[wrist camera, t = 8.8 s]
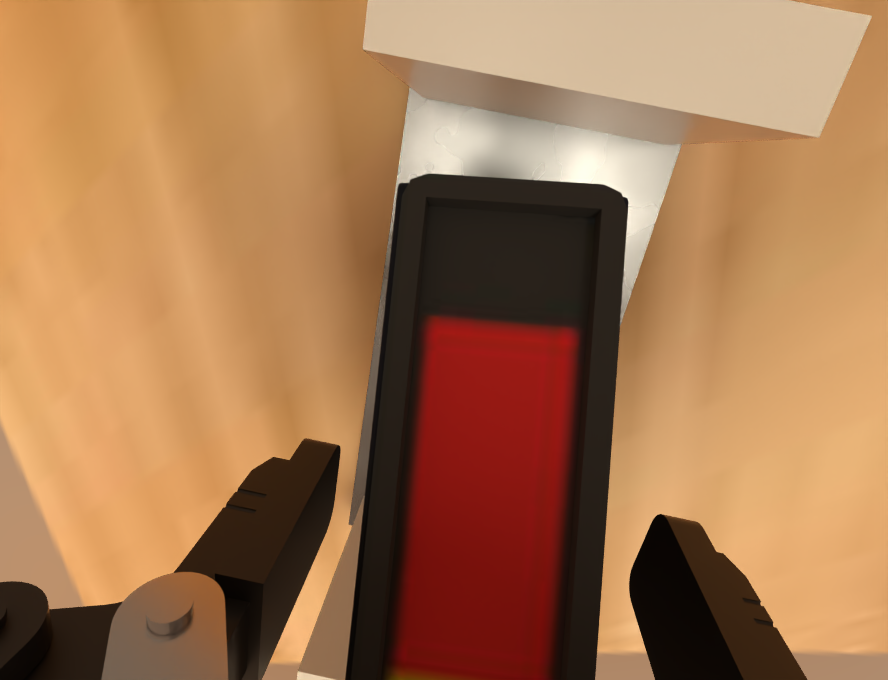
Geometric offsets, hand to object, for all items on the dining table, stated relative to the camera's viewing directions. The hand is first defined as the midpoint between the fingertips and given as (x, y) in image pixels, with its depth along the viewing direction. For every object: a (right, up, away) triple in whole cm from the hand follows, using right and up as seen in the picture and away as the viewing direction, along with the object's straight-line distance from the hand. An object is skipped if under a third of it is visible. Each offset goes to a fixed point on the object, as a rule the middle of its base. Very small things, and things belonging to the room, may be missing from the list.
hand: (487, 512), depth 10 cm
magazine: (+1, +3, +9) cm, 9 cm away
